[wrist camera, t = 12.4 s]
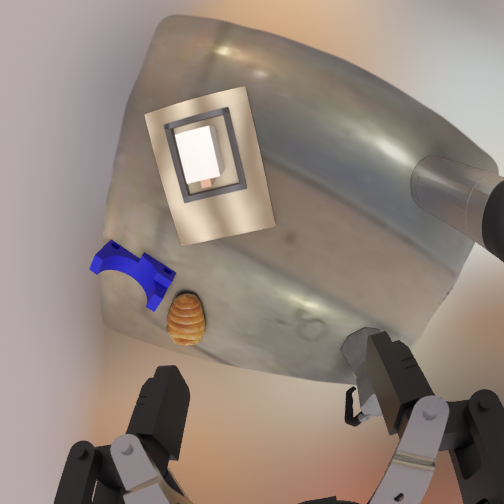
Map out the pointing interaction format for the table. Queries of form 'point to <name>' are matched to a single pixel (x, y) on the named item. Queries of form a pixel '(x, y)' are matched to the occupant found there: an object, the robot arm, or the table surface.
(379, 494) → the robot arm
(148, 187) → the table surface
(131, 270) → the cable clip
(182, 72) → the table surface
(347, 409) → the coffeepot
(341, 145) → the table surface
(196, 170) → the keyed plug
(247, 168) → the board
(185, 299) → the pastry
